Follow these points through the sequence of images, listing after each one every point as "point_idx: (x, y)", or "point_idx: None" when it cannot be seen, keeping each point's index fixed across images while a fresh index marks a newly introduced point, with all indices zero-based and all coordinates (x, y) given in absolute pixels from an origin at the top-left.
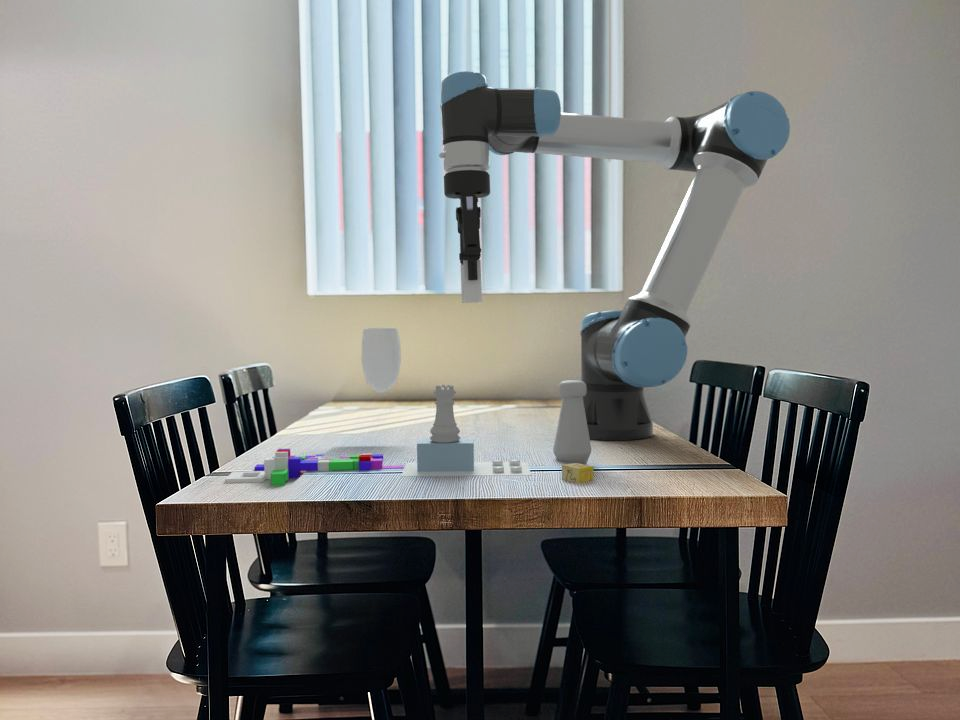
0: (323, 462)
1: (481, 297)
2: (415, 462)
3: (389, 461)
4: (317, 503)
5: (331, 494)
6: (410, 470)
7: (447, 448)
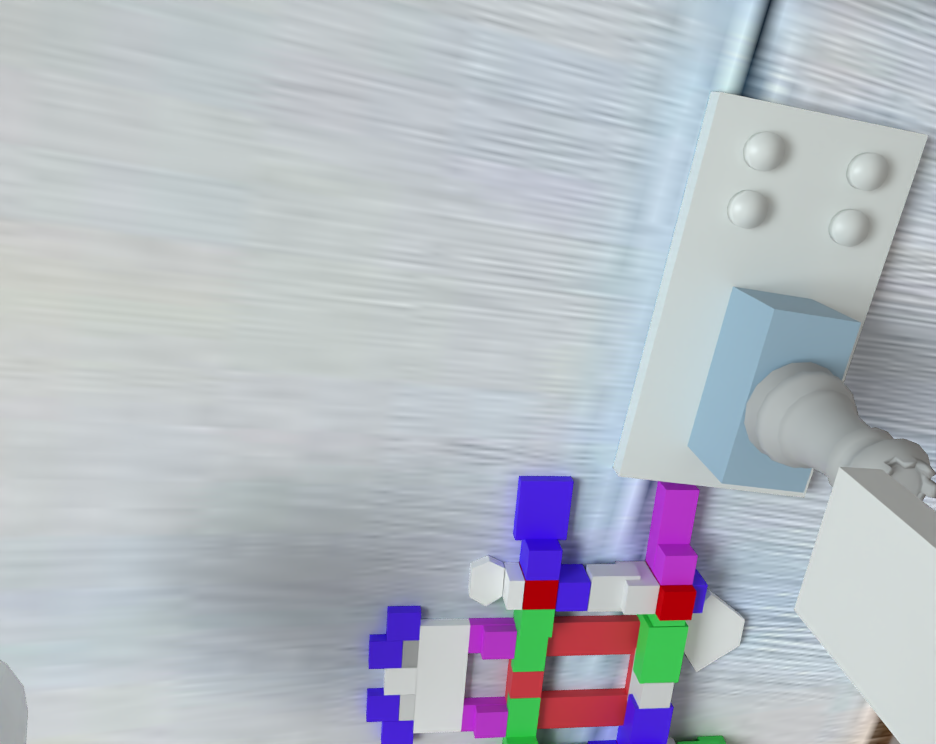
0: (670, 694)
1: (906, 492)
2: (626, 454)
3: (472, 516)
4: None
5: None
6: None
7: None
